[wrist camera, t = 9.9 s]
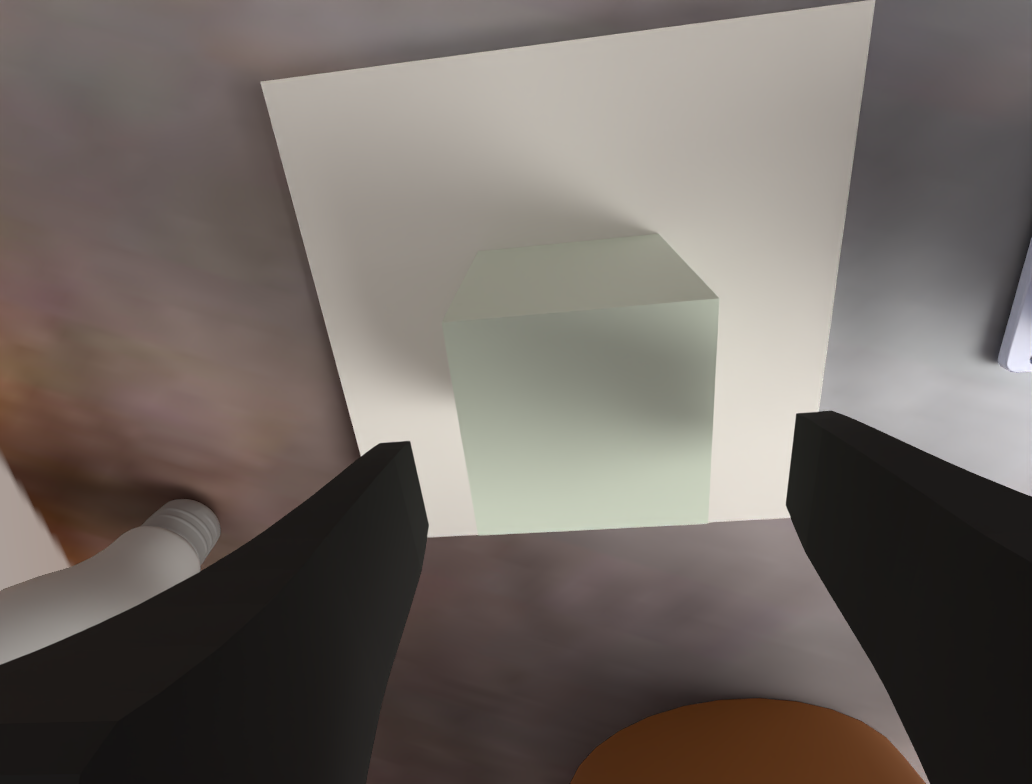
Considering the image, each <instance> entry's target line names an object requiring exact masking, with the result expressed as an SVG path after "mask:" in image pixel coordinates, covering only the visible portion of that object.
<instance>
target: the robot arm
mask: <svg viewBox="0 0 1032 784" xmlns="http://www.w3.org/2000/svg"><path fill="white" fill-rule="evenodd" d="M1031 356H1032V238H1031V241H1030V245H1029V249H1028V252H1027V256H1026V259H1025V263H1024V266H1023V270H1022V274H1021V277H1020V281H1019V284H1018V288H1017V291H1016V295H1015V299H1014V302H1013V306H1012V309H1011V313H1010V316H1009V320H1008V323H1007V327H1006V331H1005V334H1004V338H1003V341H1002V345H1001V348H1000V352H999V356H998V363H999V364H1000V366H1001V367H1003V368H1005V369H1007V370H1008V371H1010V372H1016V373H1019V372H1032V360H1030V358H1031ZM786 507H787V510H788V512H789V515H790V517H791V520H792V522H793V525H794V527H795V530H796V532H797V534H798V537H799V539H800V541H801V543H802V546H803V548H804V550H805V552H806V554H807V556H808V558H809V559H810V561H811V563H812V565H813V566H814V568H815V570H816V571H817V573H818V575H819V576H820V578H821V580H822V581H823V583H824V585H825V587H826V588H827V590H828V592H829V593H830V595H831V596H832V598H833V600H834V601H835V603H836V605H837V606H838V608H839V610H840V611H841V613H842V615H843V616H844V618H845V620H846V621H847V623H848V625H849V626H850V628H851V630H852V631H853V633H854V634H855V636H856V638H857V639H858V641H859V643H860V644H861V646H862V648H863V649H864V651H865V653H866V654H867V656H868V658H869V659H870V661H871V663H872V664H873V666H874V668H875V670H876V672H877V673H878V675H879V677H880V679H881V681H882V683H883V684H884V686H885V688H886V690H887V692H888V694H889V696H890V698H891V700H892V702H893V704H894V707H895V709H896V711H897V713H898V715H899V717H900V719H901V721H902V723H903V726H904V728H905V730H906V732H907V734H908V736H909V738H910V740H911V742H912V744H913V747H914V749H915V751H916V753H917V755H918V757H919V760H920V762H921V764H922V766H923V769H924V771H925V773H926V775H927V778H928V780H929V782H930V784H1032V497H1031V496H1028V495H1026V494H1023V493H1020V492H1018V491H1015V490H1013V489H1011V488H1008V487H1006V486H1003V485H1001V484H998V483H996V482H993V481H991V480H988V479H986V478H984V477H981V476H979V475H976V474H974V473H972V472H969V471H967V470H965V469H962V468H960V467H958V466H955V465H953V464H951V463H949V462H946V461H944V460H942V459H940V458H937V457H935V456H933V455H931V454H929V453H926V452H924V451H922V450H920V449H918V448H916V447H913V446H911V445H909V444H907V443H905V442H903V441H900V440H898V439H896V438H894V437H892V436H890V435H888V434H885V433H883V432H881V431H879V430H877V429H875V428H872V427H870V426H868V425H866V424H863V423H861V422H859V421H857V420H854V419H852V418H850V417H847V416H845V415H842V414H839V413H836V412H833V411H822V412H808V413H796V420H795V428H794V437H793V445H792V454H791V462H790V471H789V480H788V488H787V497H786ZM428 528H429V523H428V519H427V514H426V510H425V505H424V501H423V496H422V492H421V487H420V483H419V478H418V474H417V469H416V465H415V460H414V456H413V451H412V447H411V442H410V441H401V442H387V443H379V444H378V445H376V446H375V447H373V448H372V449H370V450H369V451H368V452H366V453H365V454H364V455H362V456H361V457H360V458H359V459H357V460H356V461H355V462H354V463H352V464H351V465H350V466H349V467H347V468H346V469H345V470H344V471H343V472H341V473H340V474H339V475H338V476H336V477H335V478H334V479H333V480H331V481H330V482H329V483H328V484H326V485H325V486H324V487H323V488H321V489H320V490H319V491H318V492H316V493H315V494H314V495H313V496H311V497H310V498H309V499H307V500H306V501H305V502H303V503H302V504H301V505H299V506H298V507H297V508H295V509H294V510H293V511H291V512H290V513H288V514H287V515H286V516H284V517H283V518H282V519H280V520H279V521H278V522H276V523H275V524H274V525H272V526H271V527H269V528H268V529H267V530H265V531H264V532H262V533H261V534H260V535H258V536H257V537H255V538H254V539H252V540H251V541H249V542H248V543H246V544H244V545H243V546H241V547H240V548H238V549H237V550H235V551H233V552H232V553H230V554H229V555H227V556H225V557H224V558H222V559H220V560H219V561H217V562H216V563H214V564H212V565H211V566H209V567H207V568H206V569H204V570H202V571H200V572H199V573H197V574H195V575H193V576H191V577H189V578H187V579H186V580H184V581H182V582H180V583H178V584H176V585H174V586H172V587H171V588H169V589H167V590H165V591H163V592H161V593H159V594H157V595H156V596H154V597H152V598H150V599H148V600H146V601H144V602H143V603H141V604H139V605H137V606H135V607H133V608H131V609H128V610H126V611H124V612H122V613H120V614H118V615H116V616H114V617H112V618H109V619H107V620H105V621H103V622H101V623H99V624H97V625H94V626H92V627H90V628H88V629H85V630H83V631H81V632H79V633H76V634H74V635H72V636H70V637H67V638H65V639H63V640H61V641H58V642H56V643H53V644H51V645H49V646H46V647H44V648H41V649H39V650H37V651H34V652H32V653H29V654H27V655H24V656H21V657H19V658H16V659H14V660H11V661H8V662H6V663H3V664H1V665H0V784H366V780H367V774H368V769H369V763H370V758H371V753H372V748H373V743H374V739H375V734H376V729H377V724H378V719H379V714H380V709H381V704H382V700H383V697H384V693H385V689H386V685H387V682H388V678H389V675H390V671H391V668H392V665H393V662H394V659H395V655H396V652H397V649H398V646H399V643H400V639H401V636H402V633H403V630H404V627H405V623H406V620H407V617H408V614H409V611H410V607H411V604H412V601H413V598H414V594H415V591H416V588H417V584H418V581H419V578H420V574H421V571H422V565H423V560H424V554H425V548H426V541H427V535H428Z"/></svg>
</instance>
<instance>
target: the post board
mask: <svg viewBox="0 0 1032 784" xmlns="http://www.w3.org/2000/svg"><path fill="white" fill-rule="evenodd" d="M874 7H875V0H867V1H860V2H852V3H845V4H837V5H830V6H822V7H815V8H807V9H800V10H792V11H785V12H777V13H770V14H762V15H755V16H748V17H740V18H733V19H725V20H718V21H710V22H703V23H695V24H688V25H680V26H673V27H665V28H658V29H650V30H643V31H635V32H628V33H620V34H613V35H605V36H598V37H591V38H583V39H576V40H568V41H561V42H553V43H546V44H538V45H531V46H523V47H516V48H508V49H501V50H493V51H486V52H478V53H471V54H463V55H456V56H448V57H441V58H434V59H426V60H419V61H411V62H404V63H396V64H389V65H381V66H374V67H366V68H359V69H351V70H344V71H336V72H329V73H321V74H314V75H306V76H299V77H291V78H284V79H277V80H269V81H262V82H260V83H261V86H262V90H263V94H264V98H265V101H266V105H267V109H268V112H269V116H270V120H271V124H272V127H273V131H274V135H275V139H276V142H277V146H278V150H279V153H280V157H281V161H282V165H283V168H284V172H285V176H286V179H287V183H288V187H289V191H290V194H291V198H292V202H293V206H294V209H295V213H296V217H297V220H298V224H299V228H300V232H301V235H302V239H303V243H304V246H305V250H306V254H307V258H308V261H309V265H310V269H311V273H312V276H313V280H314V284H315V287H316V291H317V295H318V299H319V302H320V306H321V310H322V313H323V317H324V321H325V325H326V328H327V332H328V336H329V340H330V343H331V347H332V351H333V354H334V358H335V362H336V366H337V369H338V373H339V377H340V380H341V384H342V388H343V392H344V395H345V399H346V403H347V407H348V410H349V414H350V418H351V421H352V425H353V429H354V433H355V436H356V440H357V444H358V447H359V451H360V455H361V456H362V455H364V454H365V453H366V452H368V451H369V450H370V449H372V448H373V447H375V446H376V445H378V444H379V443H387V442H401V441H410V442H411V447H412V451H413V456H414V460H415V465H416V469H417V474H418V478H419V483H420V487H421V492H422V496H423V501H424V505H425V510H426V514H427V519H428V523H429V528H428V535H427V537H444V536H463V535H478V532H477V526H476V520H475V514H474V508H473V503H472V497H471V491H470V485H469V479H468V474H467V468H466V462H465V456H464V450H463V445H462V439H461V433H460V427H459V421H458V416H457V410H456V404H455V398H454V392H453V386H452V381H451V375H450V369H449V363H448V357H447V352H446V346H445V340H444V334H443V328H442V321H443V319H444V317H445V315H446V313H447V311H448V309H449V307H450V305H451V303H452V301H453V299H454V297H455V295H456V293H457V291H458V289H459V287H460V285H461V283H462V282H463V280H464V278H465V276H466V274H467V272H468V270H469V268H470V266H471V264H472V262H473V260H474V258H475V256H476V254H477V252H478V251H486V250H497V249H507V248H517V247H527V246H537V245H548V244H558V243H568V242H578V241H588V240H599V239H609V238H619V237H629V236H639V235H650V234H659V235H660V236H661V237H662V238H663V239H664V240H665V241H666V242H667V243H668V244H669V245H670V246H671V248H672V249H673V250H674V251H675V252H676V253H677V254H678V255H679V256H680V257H681V258H682V259H683V260H684V261H685V262H686V263H687V265H688V266H689V267H690V268H691V269H692V270H693V271H694V272H695V273H696V274H697V275H698V276H699V277H700V278H701V279H702V280H703V282H704V283H705V284H706V285H707V286H708V287H709V288H710V289H711V290H712V291H713V292H714V293H715V294H716V295H717V296H718V297H719V316H718V336H717V356H716V376H715V396H714V416H713V435H712V455H711V475H710V495H709V515H708V522H722V521H741V520H759V519H778V518H791V517H790V515H789V512H788V510H787V507H786V497H787V488H788V480H789V471H790V462H791V454H792V445H793V437H794V428H795V420H796V413H808V412H819V405H820V398H821V391H822V384H823V376H824V369H825V362H826V355H827V347H828V340H829V333H830V326H831V318H832V311H833V304H834V297H835V289H836V282H837V275H838V268H839V260H840V253H841V246H842V239H843V231H844V224H845V217H846V210H847V202H848V195H849V188H850V181H851V173H852V166H853V159H854V152H855V144H856V137H857V130H858V123H859V115H860V108H861V101H862V94H863V86H864V79H865V72H866V65H867V57H868V50H869V43H870V36H871V28H872V21H873V14H874Z"/></svg>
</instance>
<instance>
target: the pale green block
mask: <svg viewBox="0 0 1032 784" xmlns="http://www.w3.org/2000/svg"><path fill="white" fill-rule="evenodd" d="M718 316H719V297H718V296H717V295H716V294H715V293H714V292H713V291H712V290H711V289H710V288H709V287H708V286H707V285H706V284H705V283H704V282H703V280H702V279H701V278H700V277H699V276H698V275H697V274H696V273H695V272H694V271H693V270H692V269H691V268H690V267H689V266H688V265H687V263H686V262H685V261H684V260H683V259H682V258H681V257H680V256H679V255H678V254H677V253H676V252H675V251H674V250H673V249H672V248H671V246H670V245H669V244H668V243H667V242H666V241H665V240H664V239H663V238H662V237H661V236H660V235H659V234H650V235H639V236H629V237H619V238H609V239H599V240H588V241H578V242H568V243H558V244H548V245H537V246H527V247H517V248H507V249H497V250H486V251H478V252H477V254H476V256H475V258H474V260H473V262H472V264H471V266H470V268H469V270H468V272H467V274H466V276H465V278H464V280H463V282H462V283H461V285H460V287H459V289H458V291H457V293H456V295H455V297H454V299H453V301H452V303H451V305H450V307H449V309H448V311H447V313H446V315H445V317H444V319H443V321H442V328H443V334H444V340H445V346H446V352H447V357H448V363H449V369H450V375H451V381H452V386H453V392H454V398H455V404H456V410H457V416H458V421H459V427H460V433H461V439H462V445H463V450H464V456H465V462H466V468H467V474H468V479H469V485H470V491H471V497H472V503H473V508H474V514H475V520H476V526H477V532H478V536H479V535H499V534H518V533H537V532H557V531H576V530H595V529H615V528H634V527H653V526H673V525H692V524H708V515H709V495H710V475H711V455H712V435H713V416H714V396H715V376H716V356H717V336H718Z"/></svg>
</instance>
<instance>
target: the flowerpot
mask: <svg viewBox="0 0 1032 784" xmlns="http://www.w3.org/2000/svg"><path fill="white" fill-rule="evenodd" d="M570 784H926V783H925V782H924V781H923V779H922V778H921V777H920V776H919V775H918V773H917V772H916V771H915V770H914V768H913V767H912V766H911V765H910V764H909V762H908V761H907V760H906V759H905V758H904V756H903V755H902V754H901V753H900V752H899V751H898V750H897V749H896V748H895V746H894V745H893V744H892V743H891V742H890V741H889V740H888V739H887V738H886V737H885V736H883V735H882V734H880V733H879V732H877V731H876V730H874V729H873V728H871V727H869V726H868V725H866V724H865V723H863V722H862V721H859V720H857V719H854V718H852V717H849V716H847V715H844V714H842V713H839V712H837V711H834V710H832V709H828V708H823V707H819V706H815V705H810V704H806V703H801V702H797V701H786V700H774V699H762V698H752V699H729V700H717V701H711V702H705V703H699V704H693V705H687V706H682V707H679V708H676V709H672V710H669V711H666V712H663V713H659V714H656V715H653V716H650V717H647V718H645V719H643V720H641V721H639V722H637V723H635V724H633V725H631V726H628V727H626V728H624V729H622V730H620V731H619V732H617V733H616V734H614V735H613V736H611V737H610V738H609V739H607V740H606V741H604V742H603V743H602V744H600V745H599V746H597V747H596V748H595V749H594V750H593V751H592V752H591V754H590V755H589V756H588V757H587V758H586V759H585V760H584V761H583V762H582V763H581V764H580V765H579V767H578V769H577V771H576V773H575V775H574V777H573V779H572V781H571V783H570Z"/></svg>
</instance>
